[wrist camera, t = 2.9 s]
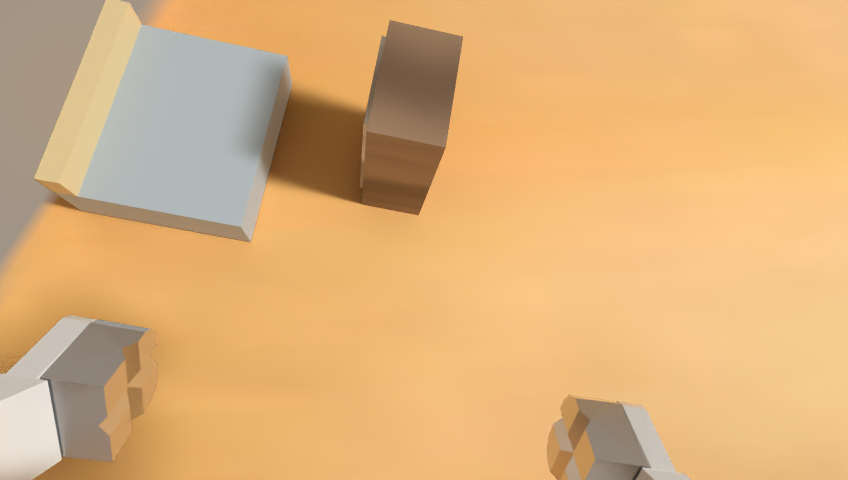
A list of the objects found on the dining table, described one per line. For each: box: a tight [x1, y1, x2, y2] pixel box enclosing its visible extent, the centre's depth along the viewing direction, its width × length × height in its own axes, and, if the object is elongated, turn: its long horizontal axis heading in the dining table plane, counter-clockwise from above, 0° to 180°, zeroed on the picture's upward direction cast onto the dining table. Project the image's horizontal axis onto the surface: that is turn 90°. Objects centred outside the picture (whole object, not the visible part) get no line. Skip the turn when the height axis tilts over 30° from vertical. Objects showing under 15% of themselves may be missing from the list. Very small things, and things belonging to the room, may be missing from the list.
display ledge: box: [34, 0, 292, 242], centre depth 25 cm, size 9×8×4 cm
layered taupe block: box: [360, 20, 463, 215], centre depth 24 cm, size 5×3×8 cm, turn 171°
